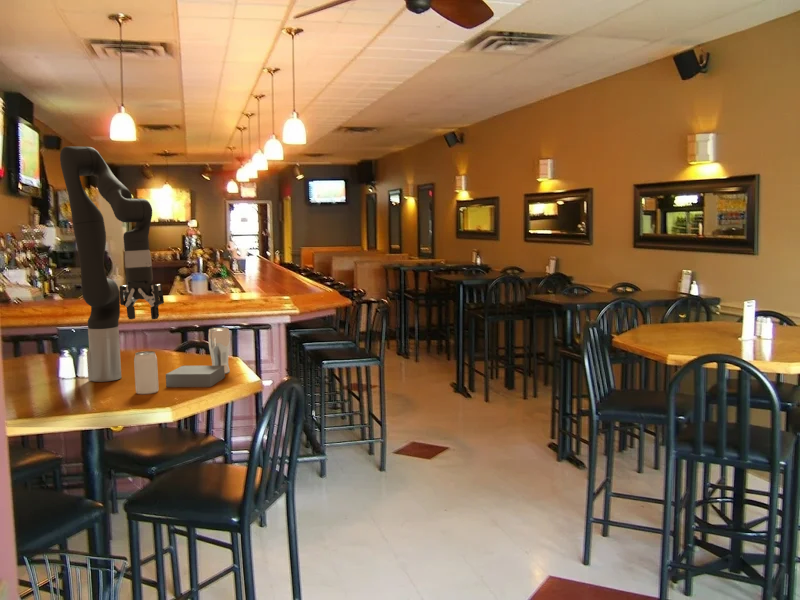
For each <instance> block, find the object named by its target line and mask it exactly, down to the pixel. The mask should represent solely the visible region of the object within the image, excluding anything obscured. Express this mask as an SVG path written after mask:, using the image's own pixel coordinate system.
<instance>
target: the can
mask: <svg viewBox="0 0 800 600" xmlns="http://www.w3.org/2000/svg"><path fill="white" fill-rule="evenodd" d="M134 354H135V355H134V357H133V358H134V359H133V364H134V365H133V366H134V384H135V386H134V387H135V393H136V394H138V395H151V394H153V395H154V394H156V393H158V391H159V373H158V372H159V371H158V357H157V355H156V351H153V350H152V351H151V350H148V351H147V350H145V351H138V352H135V353H134Z"/></svg>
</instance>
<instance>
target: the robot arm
mask: <svg viewBox="0 0 800 600" xmlns="http://www.w3.org/2000/svg"><path fill="white" fill-rule="evenodd" d="M59 153H60V154H59V156H60V157H59V162H60V167H61V171H62V175H63V179H64V184H65V187H66V192H67V195H68V200H69V206H70V207H69V208H70V213H71V221H72V227H73V233H74V238H75V243H76V249H77V250H76V251H77V255H78V259H79V265H80V279H81V280H80V281H81V293H82V294H81V295H82V298H83V300H84V301H85V303H86V304H87V305H88V306H90V315H89V317H88V320H87V335H88V347H89V348H88V351H87V352H86V361H87V365H86V366H87V378H88V381H89V382H95V383H96V382H99V383H100V382H101V383H103V382H111V381H117V380H120V379H122V363H121V347H120V343H121V342H120V333H119V332H120V331H119V330H120V329H119V328H120V327H119V320H120V316H121V306H125V307H126V314H127V315H126V316H127V318H128V320H134V319H136V311H135V304H136V302H137V301H138V300H145V301H146V302H147V303H148V304H149V305H150V307H149V308H150V316H151V320H158V318H159V316H160V313H159V312H160V311H159V306H160V305H163V304H164V303H165V301H164V293H163V286H162V283H157V284H153V280H154V275H153V265H152V257H151V251H150V242H149V241H150V240H149V239H150V238H149V235H150V229H151V223H152V218H153V209H152V205H151V203H150V201H148V200H147V199H146V198H133V195H132V193H131V191H130V190H129V188H128V187H126V186H125V184H123V183H122V182H121V181H120V180H119V179H118V178H117V177H116V176H115V175H114V174H115V173H113V172H112V170H111V168H110V167H109V165H108V164H107V162H106V160H104V158H103V157H102V155H101V154H100V152H99V151H98V150H97V149H95V148H94V147H91V146H72V145H71V146H70V145H69V146H64V147H62V149H61V150H60V152H59ZM89 176H93V177H95V178H97V184H96V185H97V190H98V192H99V194H100V195H101V197H102V198H103V199H104V200H105V201H106V202H107V203H108V204H109V205H110V207H111V209H112V212H113V214H114V216H115V218H116V219H117V220H118V221H120V222H122V223H135V226H134V228H133V229H131V230H127V231H125V232H124V233H123V247H124V266H125V267H124V268H125V269H124V270H125V278H126V279H125V280H126V282H127V283H128V284H124V285H119V286H118V284H117V283H116V282H115V280H113V279H111V278H109V277H107V274H106V268H105V262H104V261H105V252H106V244H107V232H106V226H105V219H104V215H103V214H102V212H101V210H100V209H99V208H98V206H97V205H96V204H95V203H94V202H93V201H92V200H91V198H90V197H89V196H88V194H87V193H86V191H85V189H84V187H83V185H82V180H81V178H80V177H89Z"/></svg>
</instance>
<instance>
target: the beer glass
mask: <svg viewBox="0 0 800 600" xmlns="http://www.w3.org/2000/svg"><path fill="white" fill-rule="evenodd" d="M230 338H231V337H230V329H229V328H228V327H213V328H209V329H208V348H209V349H208V350H209V354H210V357H211V366H224V370H225V375H226V374H229V373H230V372H231V371H230V367H229V355H230V348H231V339H230Z"/></svg>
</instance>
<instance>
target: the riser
mask: <svg viewBox="0 0 800 600" xmlns="http://www.w3.org/2000/svg"><path fill="white" fill-rule="evenodd" d="M225 375H226V374H225V370H224V366H212V365H181V366H179V367H178V368H176V369H173V370H171V371H170V372H167V373H165V385H166V386H165V387H166V388H212V387H213V386H214V385H215V384H218V383H219V382H221V381H222V380H223V379H225V378H226V377H225Z"/></svg>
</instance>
